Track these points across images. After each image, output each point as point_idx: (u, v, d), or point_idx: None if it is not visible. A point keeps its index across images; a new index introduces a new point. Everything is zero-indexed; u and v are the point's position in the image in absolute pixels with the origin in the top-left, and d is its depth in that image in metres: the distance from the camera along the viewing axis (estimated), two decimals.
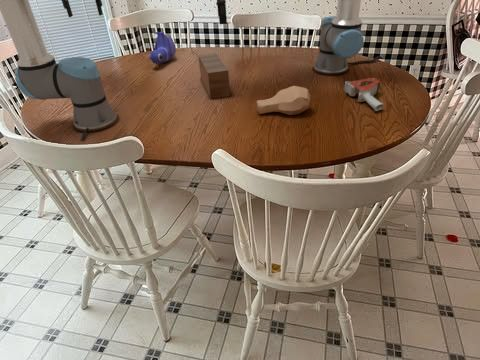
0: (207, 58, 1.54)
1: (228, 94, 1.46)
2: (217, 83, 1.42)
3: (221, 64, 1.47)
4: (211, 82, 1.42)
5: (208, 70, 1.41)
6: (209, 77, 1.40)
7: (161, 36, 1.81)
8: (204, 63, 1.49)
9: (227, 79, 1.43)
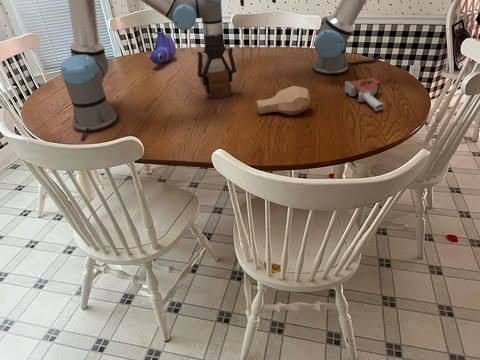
0: None
1: (228, 94, 1.46)
2: (217, 83, 1.42)
3: (221, 64, 1.47)
4: (211, 82, 1.42)
5: (208, 70, 1.41)
6: (209, 77, 1.40)
7: (161, 36, 1.81)
8: (204, 63, 1.49)
9: (227, 79, 1.43)
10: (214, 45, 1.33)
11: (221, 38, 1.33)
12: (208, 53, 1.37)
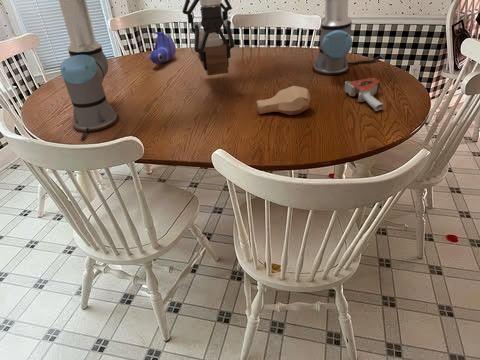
0: None
1: (226, 71, 1.40)
2: (215, 58, 1.37)
3: (219, 39, 1.41)
4: (208, 57, 1.36)
5: (205, 45, 1.36)
6: (206, 52, 1.34)
7: (161, 36, 1.81)
8: (201, 39, 1.43)
9: (225, 54, 1.37)
10: (211, 17, 1.27)
11: (219, 10, 1.27)
12: (205, 26, 1.31)
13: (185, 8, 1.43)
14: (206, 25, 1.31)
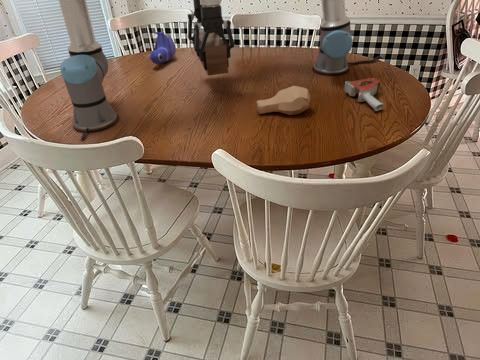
0: None
1: (226, 71, 1.40)
2: (215, 58, 1.37)
3: (219, 39, 1.41)
4: (208, 57, 1.36)
5: (205, 45, 1.36)
6: (206, 52, 1.34)
7: (161, 36, 1.81)
8: (201, 39, 1.43)
9: (225, 54, 1.37)
10: (211, 17, 1.27)
11: (219, 10, 1.27)
12: (205, 26, 1.31)
13: (189, 34, 1.49)
14: (206, 25, 1.31)
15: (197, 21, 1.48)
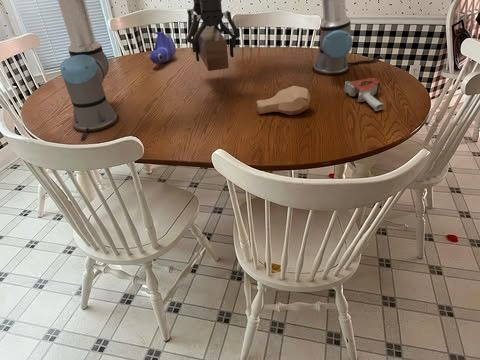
0: (205, 30, 1.47)
1: (226, 66, 1.39)
2: (215, 54, 1.36)
3: (219, 35, 1.40)
4: (208, 53, 1.35)
5: (205, 40, 1.35)
6: (206, 47, 1.33)
7: (161, 36, 1.81)
8: (201, 34, 1.42)
9: (225, 49, 1.36)
10: (211, 10, 1.25)
11: (219, 2, 1.25)
12: (205, 19, 1.29)
13: None
14: (205, 18, 1.29)
15: None
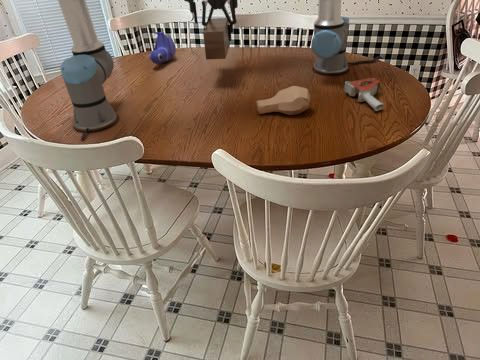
0: (216, 21, 1.56)
1: (223, 56, 1.47)
2: (212, 44, 1.44)
3: (222, 26, 1.47)
4: (206, 42, 1.44)
5: (205, 30, 1.44)
6: (204, 36, 1.42)
7: (161, 36, 1.81)
8: (208, 24, 1.51)
9: (222, 40, 1.43)
10: None
11: None
12: None
13: (203, 20, 1.58)
14: None
15: None
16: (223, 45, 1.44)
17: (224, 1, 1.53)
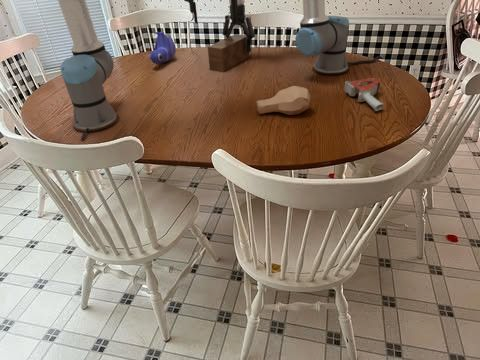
0: (234, 37, 1.79)
1: (222, 69, 1.71)
2: (214, 57, 1.70)
3: (229, 43, 1.70)
4: (209, 55, 1.70)
5: (212, 45, 1.70)
6: (208, 50, 1.69)
7: (161, 36, 1.81)
8: (223, 40, 1.76)
9: (221, 56, 1.67)
10: None
11: None
12: None
13: (223, 31, 1.82)
14: None
15: None
16: (221, 60, 1.68)
17: (242, 19, 1.74)
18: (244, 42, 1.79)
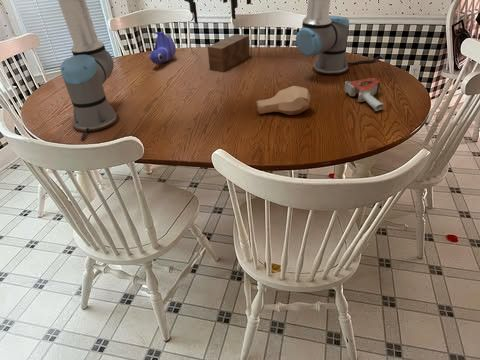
0: (234, 37, 1.79)
1: (222, 69, 1.71)
2: (214, 57, 1.70)
3: (229, 43, 1.70)
4: (209, 55, 1.70)
5: (212, 45, 1.70)
6: (208, 50, 1.69)
7: (161, 36, 1.81)
8: (223, 40, 1.76)
9: (221, 56, 1.67)
10: None
11: None
12: None
13: None
14: None
15: None
16: (221, 60, 1.68)
17: None
18: (244, 42, 1.79)
